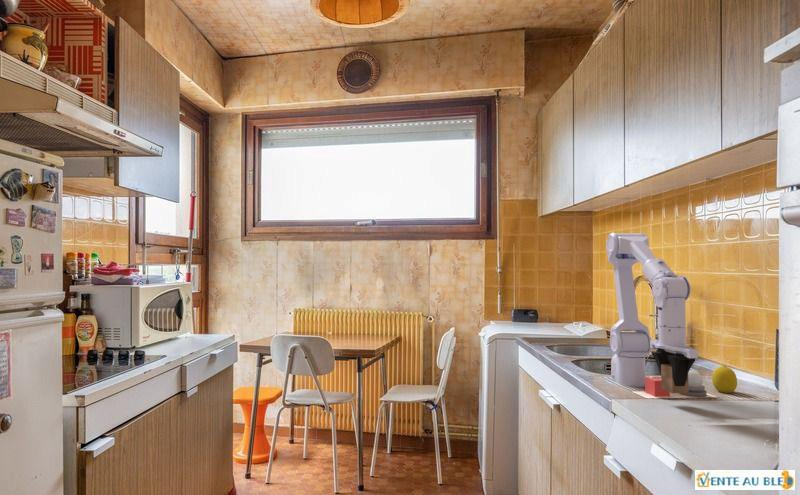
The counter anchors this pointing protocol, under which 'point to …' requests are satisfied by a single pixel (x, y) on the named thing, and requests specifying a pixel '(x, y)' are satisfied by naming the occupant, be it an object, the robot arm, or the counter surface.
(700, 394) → the game board
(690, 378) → the dome
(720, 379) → the lemon
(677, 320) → the robot arm
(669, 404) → the counter surface
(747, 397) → the counter surface
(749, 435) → the counter surface
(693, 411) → the counter surface
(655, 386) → the die
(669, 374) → the brown block
